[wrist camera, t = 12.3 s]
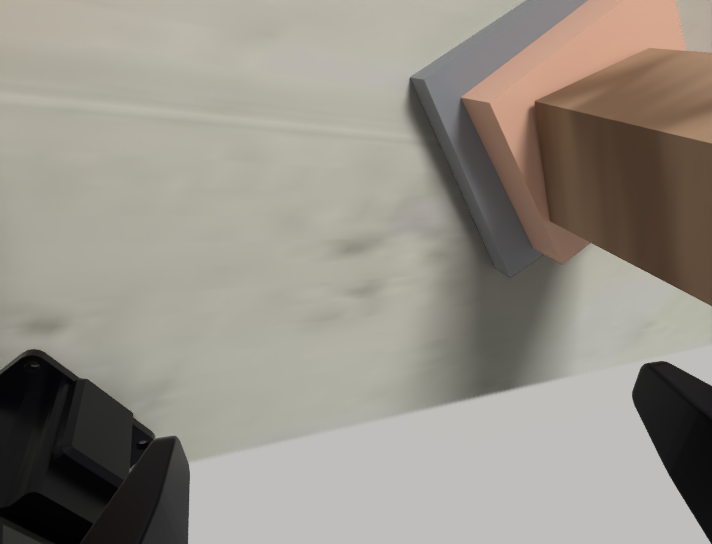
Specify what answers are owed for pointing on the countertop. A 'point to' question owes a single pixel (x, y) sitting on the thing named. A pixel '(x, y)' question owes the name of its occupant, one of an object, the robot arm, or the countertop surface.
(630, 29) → the terracotta tile
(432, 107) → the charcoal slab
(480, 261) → the countertop surface
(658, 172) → the walnut pillar
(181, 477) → the robot arm
